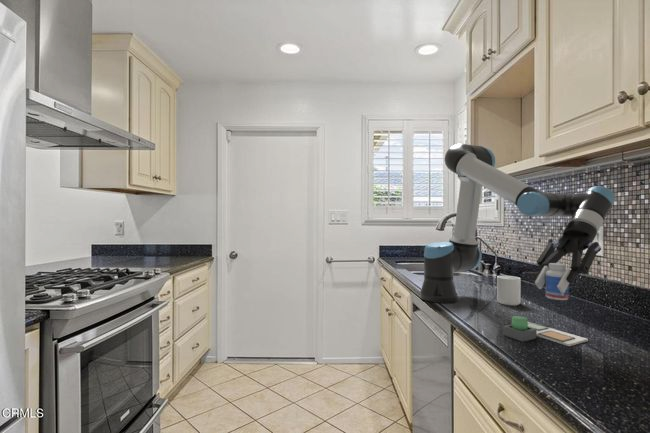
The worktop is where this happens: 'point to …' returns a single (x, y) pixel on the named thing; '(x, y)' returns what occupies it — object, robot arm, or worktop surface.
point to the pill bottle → (555, 282)
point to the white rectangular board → (557, 335)
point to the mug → (508, 290)
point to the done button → (520, 323)
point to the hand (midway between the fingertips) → (548, 287)
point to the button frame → (519, 333)
